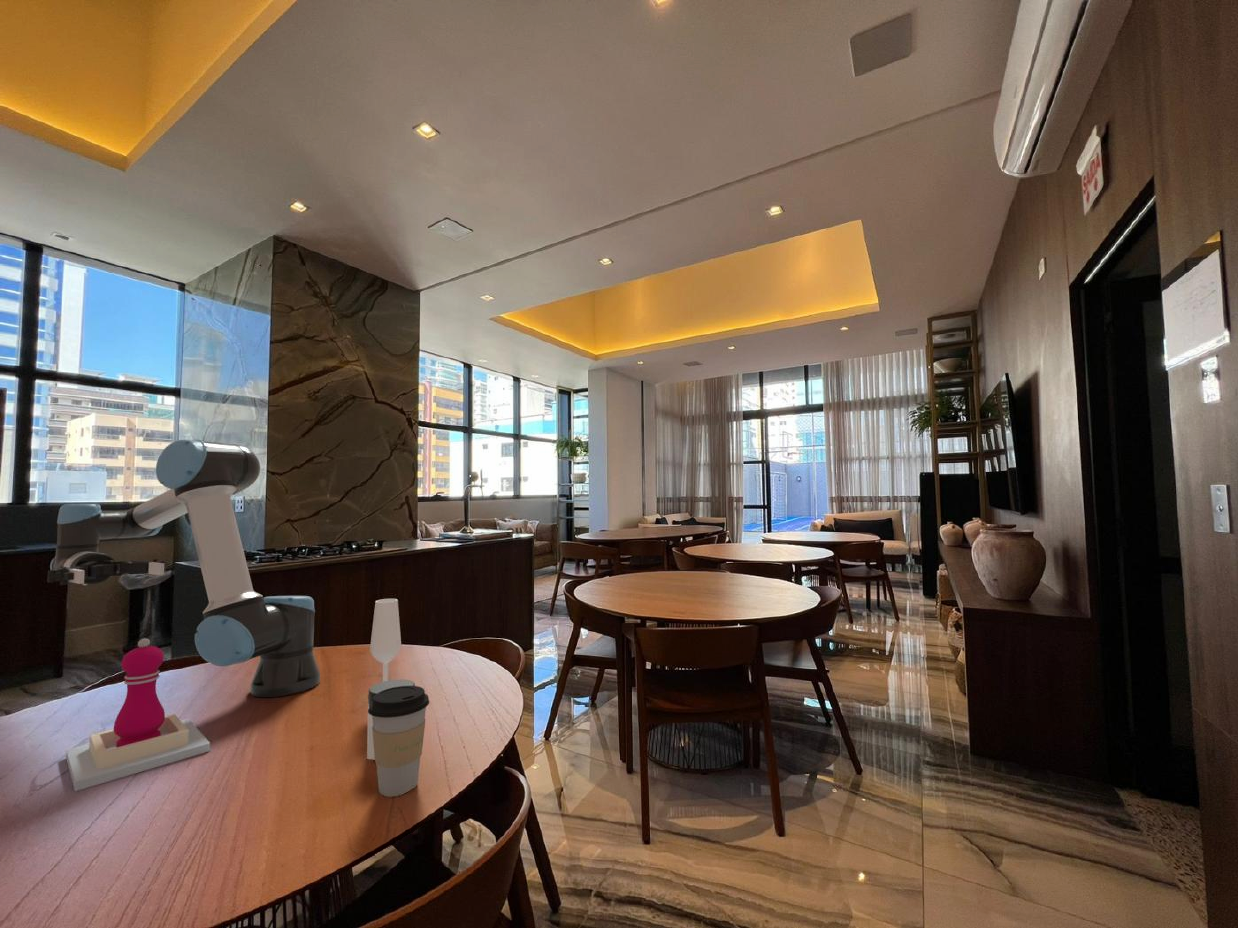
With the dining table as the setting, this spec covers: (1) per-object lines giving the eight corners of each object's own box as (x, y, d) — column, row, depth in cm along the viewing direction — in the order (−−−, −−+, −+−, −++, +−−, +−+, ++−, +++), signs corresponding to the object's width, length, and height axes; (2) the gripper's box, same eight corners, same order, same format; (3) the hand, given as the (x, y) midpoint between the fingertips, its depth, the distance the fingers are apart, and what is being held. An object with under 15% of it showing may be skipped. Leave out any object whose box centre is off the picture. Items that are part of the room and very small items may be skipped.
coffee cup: (406, 805, 82) (408, 706, 83) (353, 799, 84) (355, 702, 85) (439, 774, 91) (440, 685, 92) (390, 769, 93) (391, 682, 94)
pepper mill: (173, 740, 102) (177, 635, 103) (128, 757, 95) (133, 644, 97) (148, 735, 104) (153, 632, 106) (102, 751, 98) (108, 641, 99)
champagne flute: (362, 708, 120) (364, 602, 122) (385, 698, 127) (386, 597, 128) (384, 713, 118) (386, 604, 119) (406, 702, 124) (408, 598, 126)
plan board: (188, 725, 112) (188, 706, 113) (209, 750, 101) (210, 729, 101) (65, 757, 99) (67, 735, 99) (74, 791, 87) (76, 766, 87)
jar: (402, 736, 106) (403, 675, 107) (424, 748, 101) (425, 684, 101) (357, 753, 99) (358, 688, 100) (377, 767, 94) (378, 698, 95)
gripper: (154, 576, 139) (190, 582, 128) (12, 591, 118) (42, 599, 107) (155, 548, 140) (191, 551, 129) (14, 557, 118) (44, 562, 107)
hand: (124, 573), depth 118 cm, fingers open, 13 cm apart
